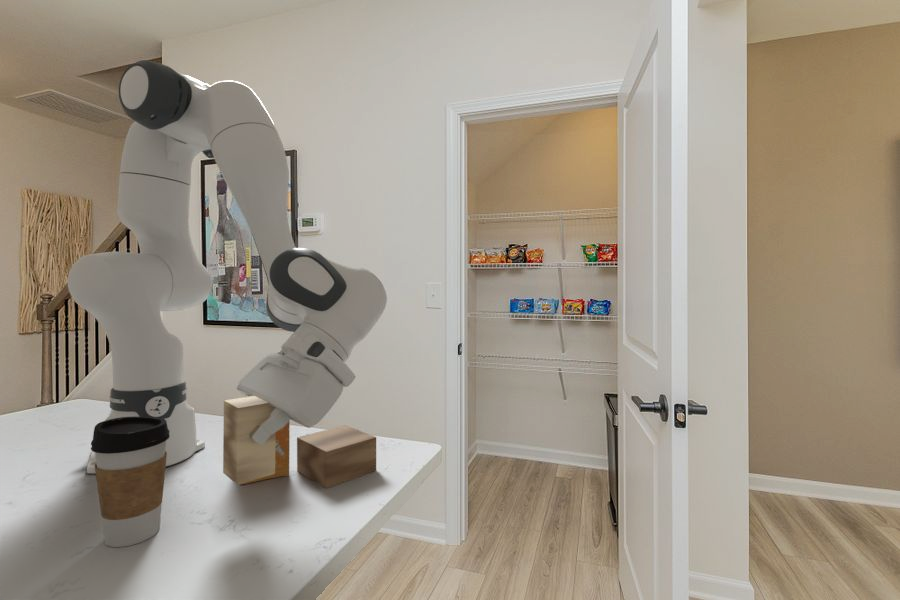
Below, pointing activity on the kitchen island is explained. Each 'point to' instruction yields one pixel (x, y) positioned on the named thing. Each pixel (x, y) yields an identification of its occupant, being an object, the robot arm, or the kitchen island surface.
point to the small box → (279, 454)
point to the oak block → (246, 440)
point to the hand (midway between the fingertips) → (244, 435)
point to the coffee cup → (130, 477)
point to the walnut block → (336, 455)
